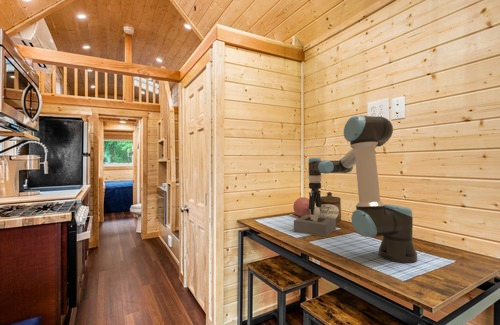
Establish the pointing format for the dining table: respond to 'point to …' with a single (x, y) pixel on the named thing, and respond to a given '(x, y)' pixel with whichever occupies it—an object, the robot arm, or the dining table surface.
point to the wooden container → (331, 207)
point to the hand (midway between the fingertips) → (315, 218)
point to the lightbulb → (316, 213)
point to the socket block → (315, 225)
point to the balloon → (301, 206)
